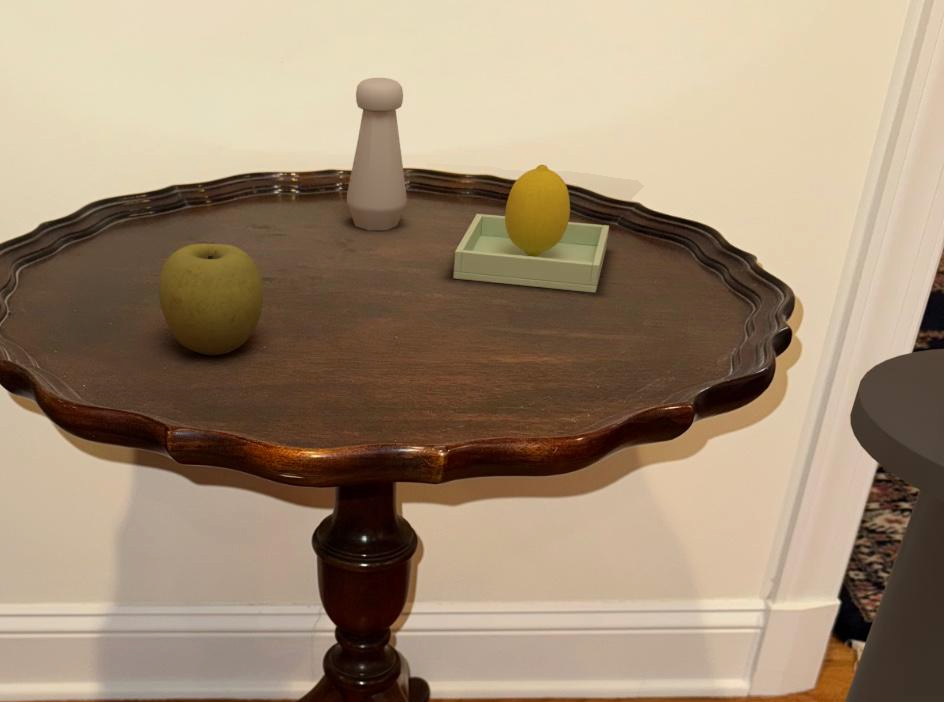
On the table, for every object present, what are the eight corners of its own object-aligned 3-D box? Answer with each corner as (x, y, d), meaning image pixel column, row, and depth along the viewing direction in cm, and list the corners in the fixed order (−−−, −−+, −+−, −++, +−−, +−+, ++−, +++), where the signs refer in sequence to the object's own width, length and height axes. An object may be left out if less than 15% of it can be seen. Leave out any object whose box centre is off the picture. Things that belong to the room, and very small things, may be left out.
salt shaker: (408, 233, 107) (415, 86, 100) (348, 234, 107) (350, 86, 99) (401, 215, 112) (407, 73, 105) (344, 215, 112) (346, 73, 104)
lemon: (495, 248, 102) (503, 157, 97) (554, 247, 103) (565, 156, 98) (509, 269, 98) (518, 174, 93) (571, 267, 98) (583, 173, 94)
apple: (274, 329, 87) (272, 238, 83) (250, 371, 81) (246, 274, 77) (180, 322, 88) (173, 231, 84) (149, 363, 82) (140, 266, 78)
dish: (605, 251, 104) (609, 225, 102) (595, 293, 95) (599, 265, 93) (474, 239, 106) (476, 213, 105) (453, 278, 97) (454, 251, 96)
